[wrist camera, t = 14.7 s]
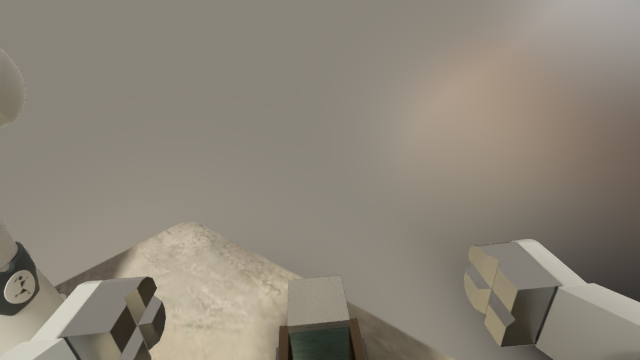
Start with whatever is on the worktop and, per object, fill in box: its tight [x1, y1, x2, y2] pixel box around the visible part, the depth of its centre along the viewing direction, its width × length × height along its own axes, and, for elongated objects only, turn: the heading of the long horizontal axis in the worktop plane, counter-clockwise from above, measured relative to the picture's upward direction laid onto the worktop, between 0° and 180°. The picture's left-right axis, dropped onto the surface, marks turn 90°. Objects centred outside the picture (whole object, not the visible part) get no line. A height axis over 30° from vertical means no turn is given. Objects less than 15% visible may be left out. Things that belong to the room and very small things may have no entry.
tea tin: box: [287, 275, 350, 360], centre depth 30 cm, size 5×5×12 cm
